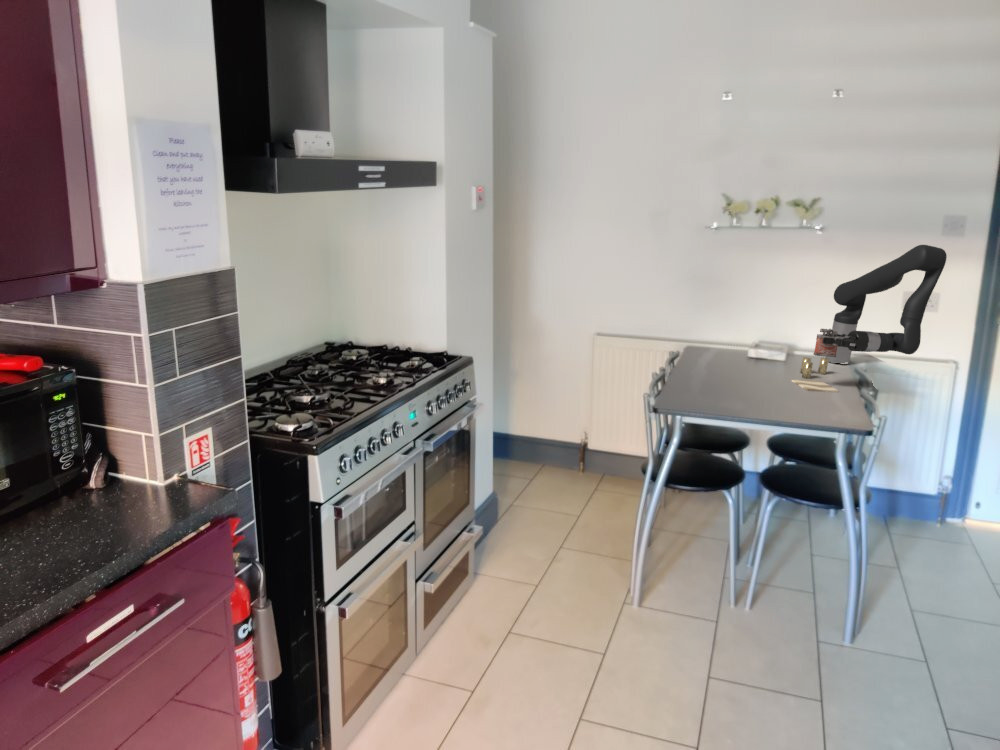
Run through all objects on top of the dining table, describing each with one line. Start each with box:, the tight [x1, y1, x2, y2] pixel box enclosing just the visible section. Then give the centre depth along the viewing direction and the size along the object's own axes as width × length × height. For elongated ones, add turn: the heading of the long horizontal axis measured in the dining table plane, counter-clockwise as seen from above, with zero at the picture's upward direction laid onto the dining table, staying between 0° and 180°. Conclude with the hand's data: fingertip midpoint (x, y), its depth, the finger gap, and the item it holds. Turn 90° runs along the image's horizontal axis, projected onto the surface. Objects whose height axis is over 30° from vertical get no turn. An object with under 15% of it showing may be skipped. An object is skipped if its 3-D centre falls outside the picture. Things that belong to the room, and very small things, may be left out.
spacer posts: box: [799, 356, 829, 380], centre depth 316 cm, size 11×14×6 cm
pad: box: [791, 379, 839, 393], centre depth 300 cm, size 12×12×1 cm
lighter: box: [812, 328, 839, 358], centre depth 297 cm, size 8×3×10 cm, turn 88°
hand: (820, 339), depth 296 cm, fingers closed on lighter, 3 cm apart
